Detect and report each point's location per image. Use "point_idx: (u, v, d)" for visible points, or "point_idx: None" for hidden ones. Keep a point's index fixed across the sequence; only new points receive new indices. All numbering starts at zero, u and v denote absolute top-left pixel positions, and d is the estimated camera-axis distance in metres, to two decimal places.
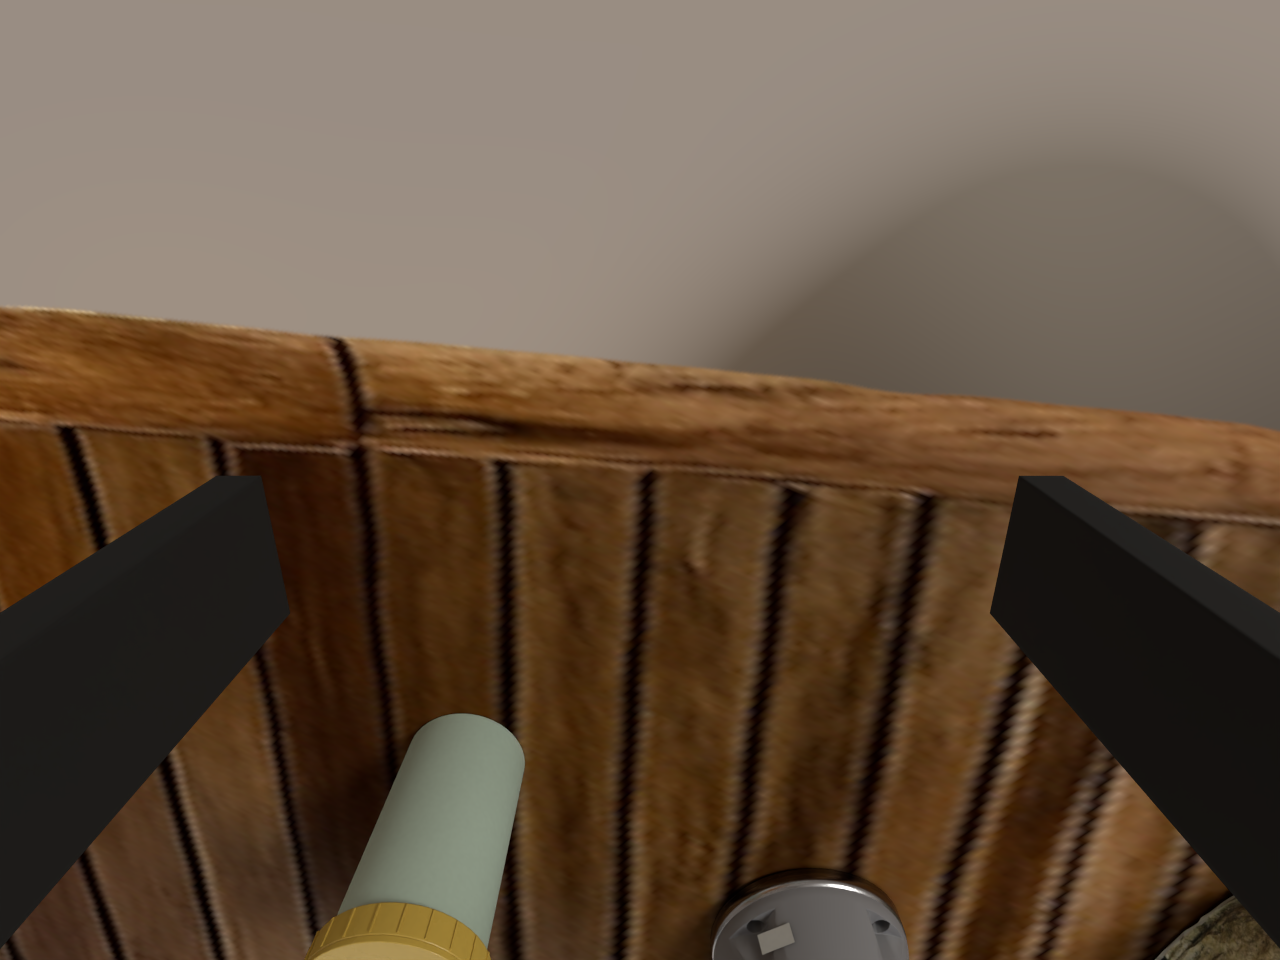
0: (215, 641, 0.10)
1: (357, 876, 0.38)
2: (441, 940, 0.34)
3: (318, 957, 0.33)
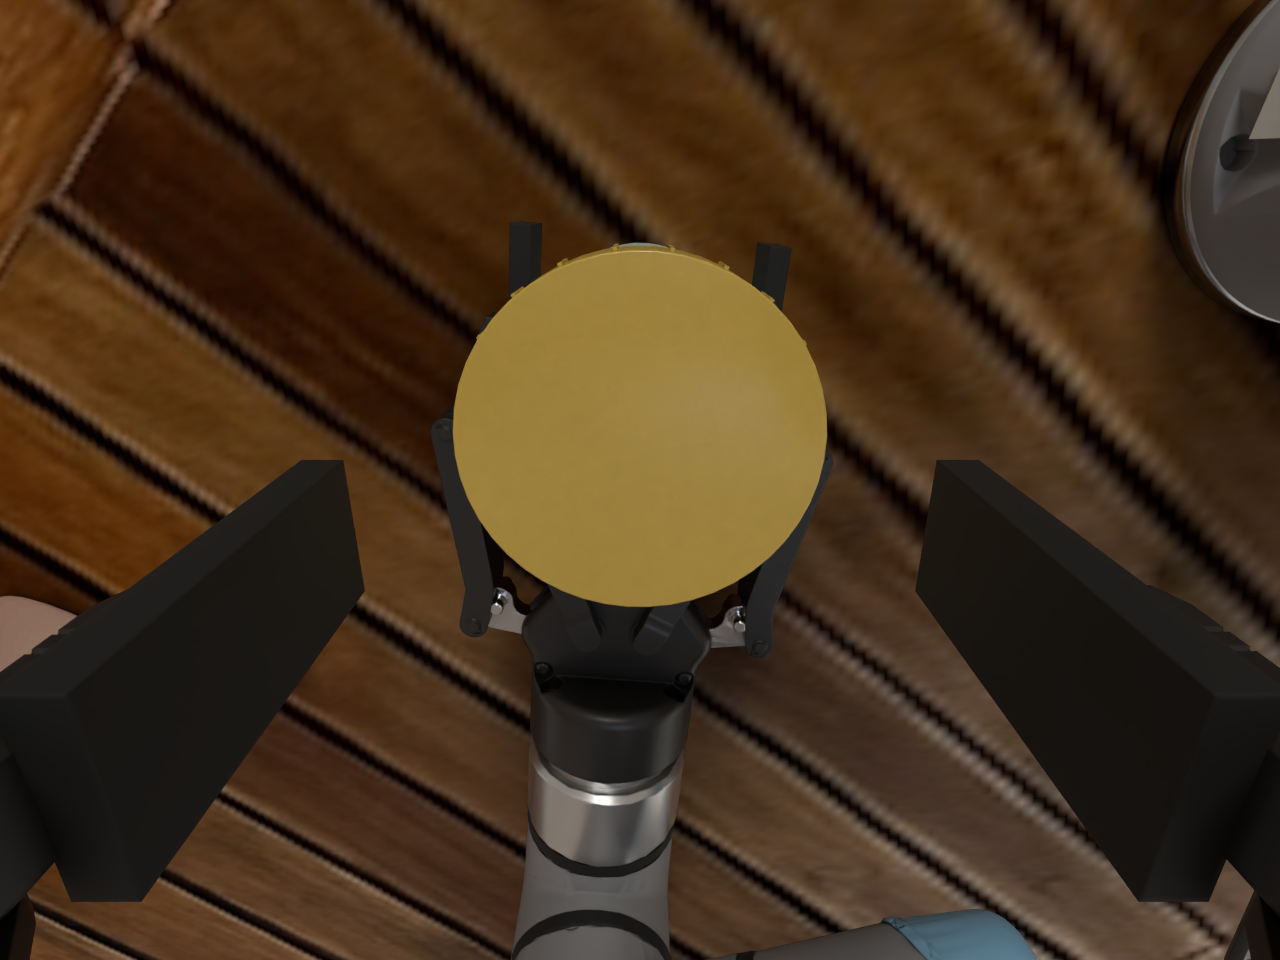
0: (310, 612, 0.11)
1: None
2: (592, 255, 0.17)
3: (455, 443, 0.17)
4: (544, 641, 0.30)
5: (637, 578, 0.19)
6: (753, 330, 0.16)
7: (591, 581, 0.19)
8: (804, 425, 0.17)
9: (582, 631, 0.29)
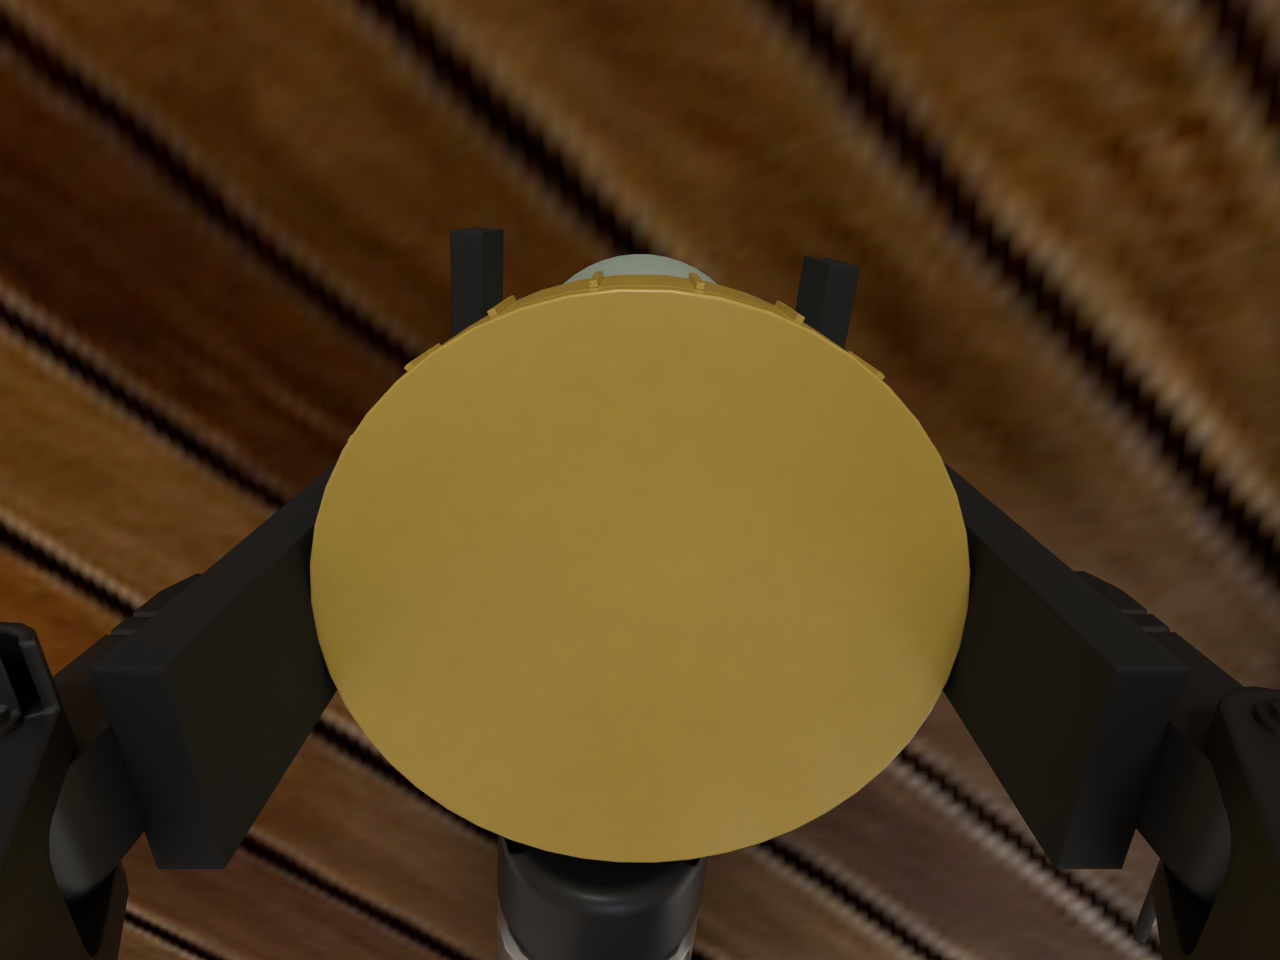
0: None
1: None
2: (552, 295, 0.09)
3: (317, 620, 0.10)
4: None
5: (635, 822, 0.11)
6: (848, 433, 0.09)
7: (559, 827, 0.11)
8: (930, 592, 0.10)
9: None
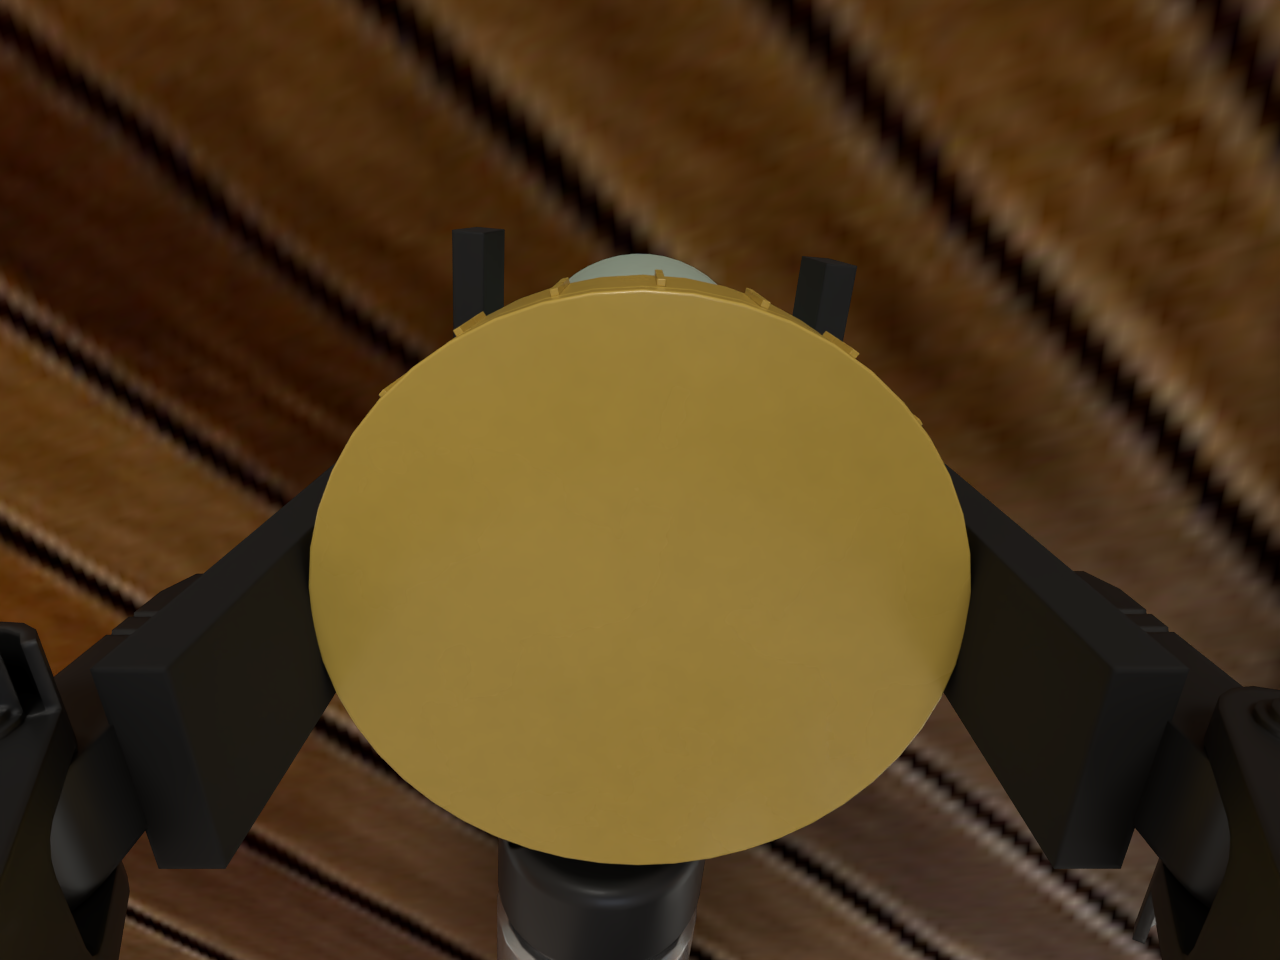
0: None
1: None
2: None
3: (547, 851, 0.12)
4: None
5: (877, 699, 0.10)
6: (489, 391, 0.09)
7: (848, 762, 0.11)
8: (703, 344, 0.08)
9: None
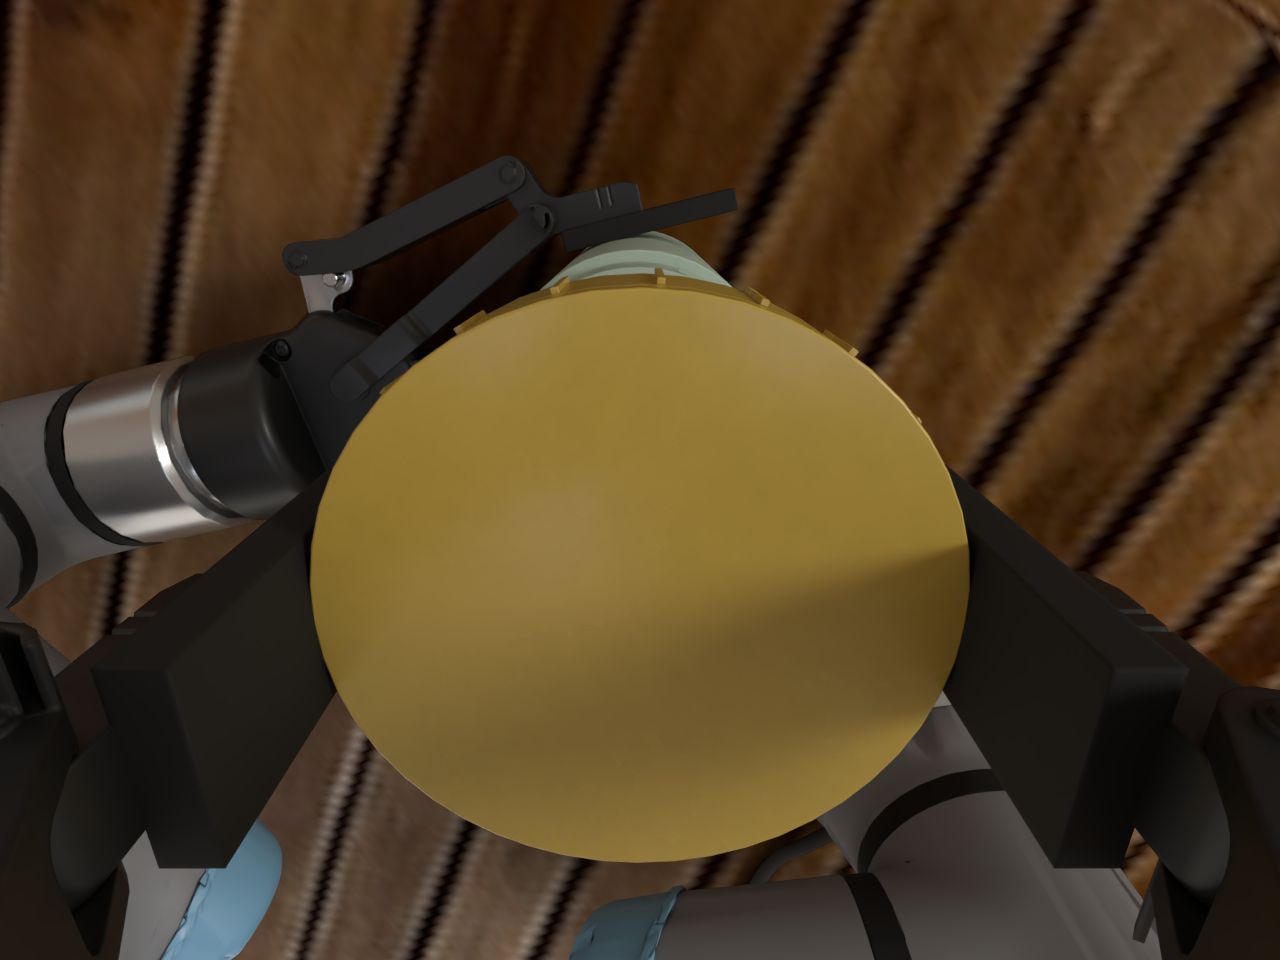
0: None
1: (580, 258, 0.22)
2: None
3: (547, 849, 0.12)
4: (316, 341, 0.27)
5: (877, 696, 0.10)
6: (489, 389, 0.09)
7: (847, 759, 0.11)
8: (703, 342, 0.09)
9: (353, 380, 0.27)
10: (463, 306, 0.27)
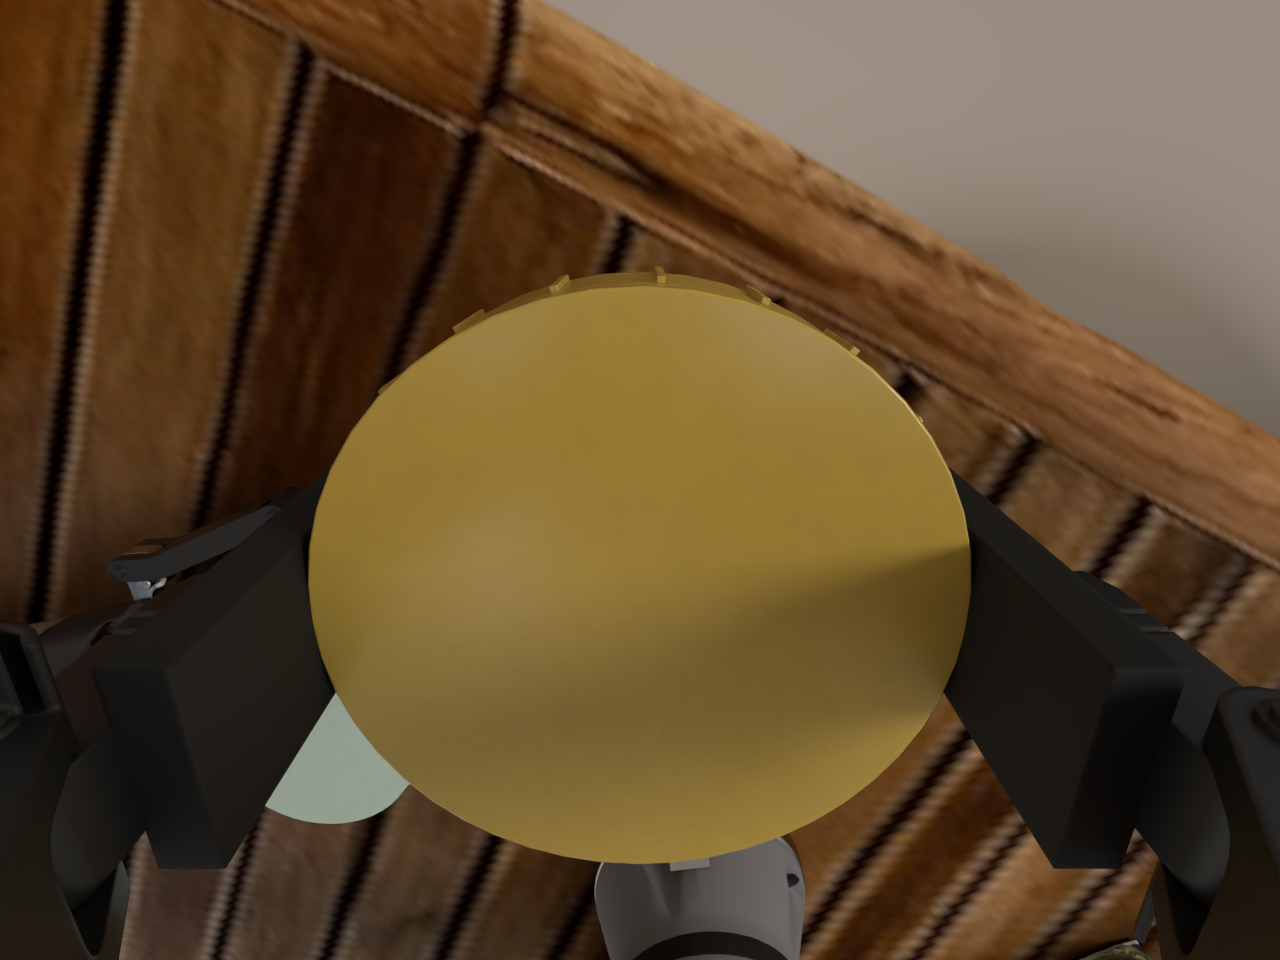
0: None
1: None
2: None
3: (547, 850, 0.12)
4: None
5: (878, 697, 0.10)
6: (488, 388, 0.09)
7: (848, 760, 0.11)
8: (703, 341, 0.08)
9: None
10: None
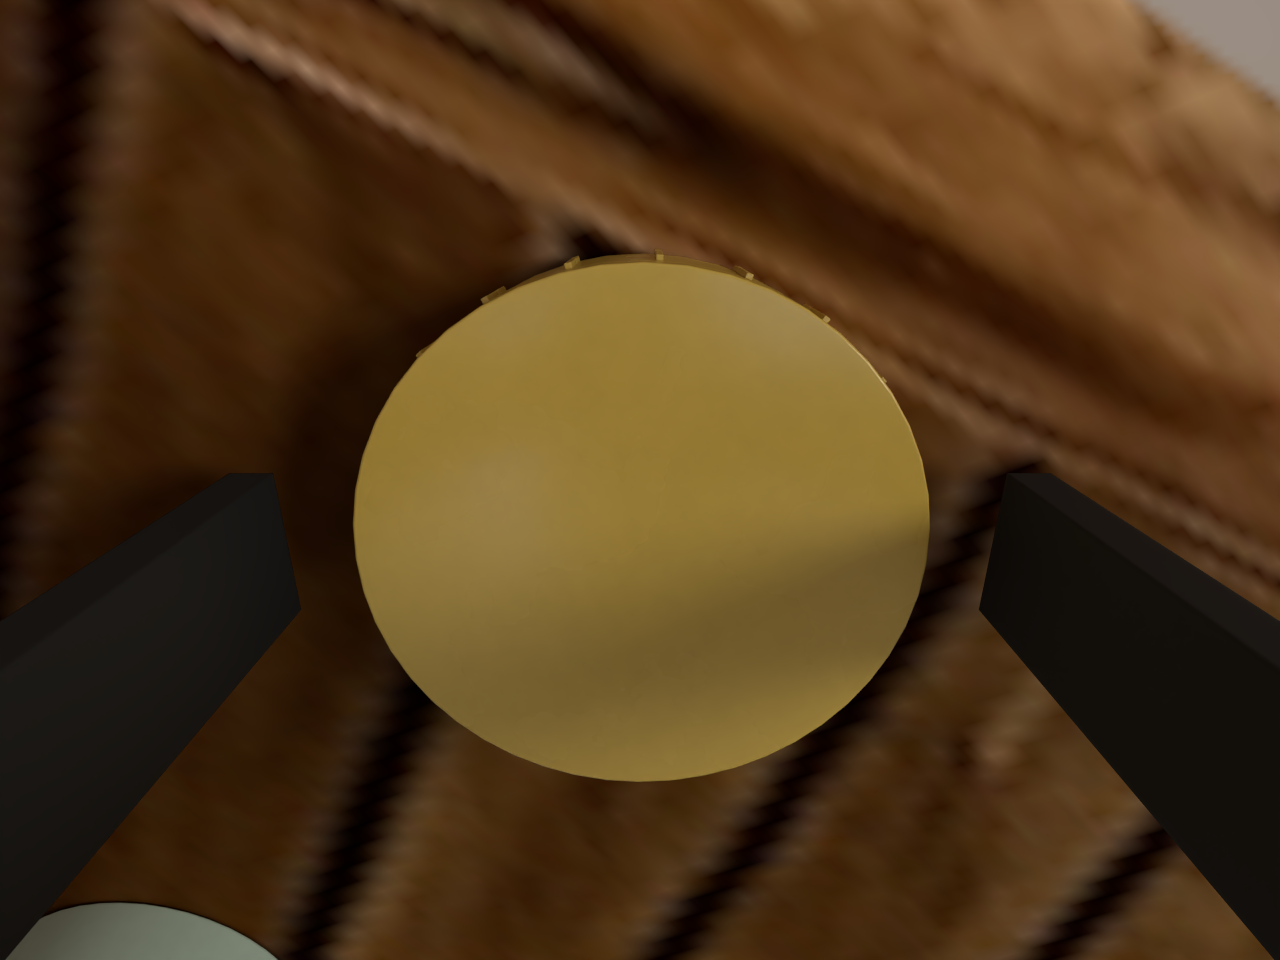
0: (229, 636, 0.11)
1: None
2: None
3: (559, 768, 0.13)
4: None
5: (850, 626, 0.12)
6: (512, 350, 0.10)
7: (825, 685, 0.12)
8: (696, 309, 0.10)
9: None
10: None
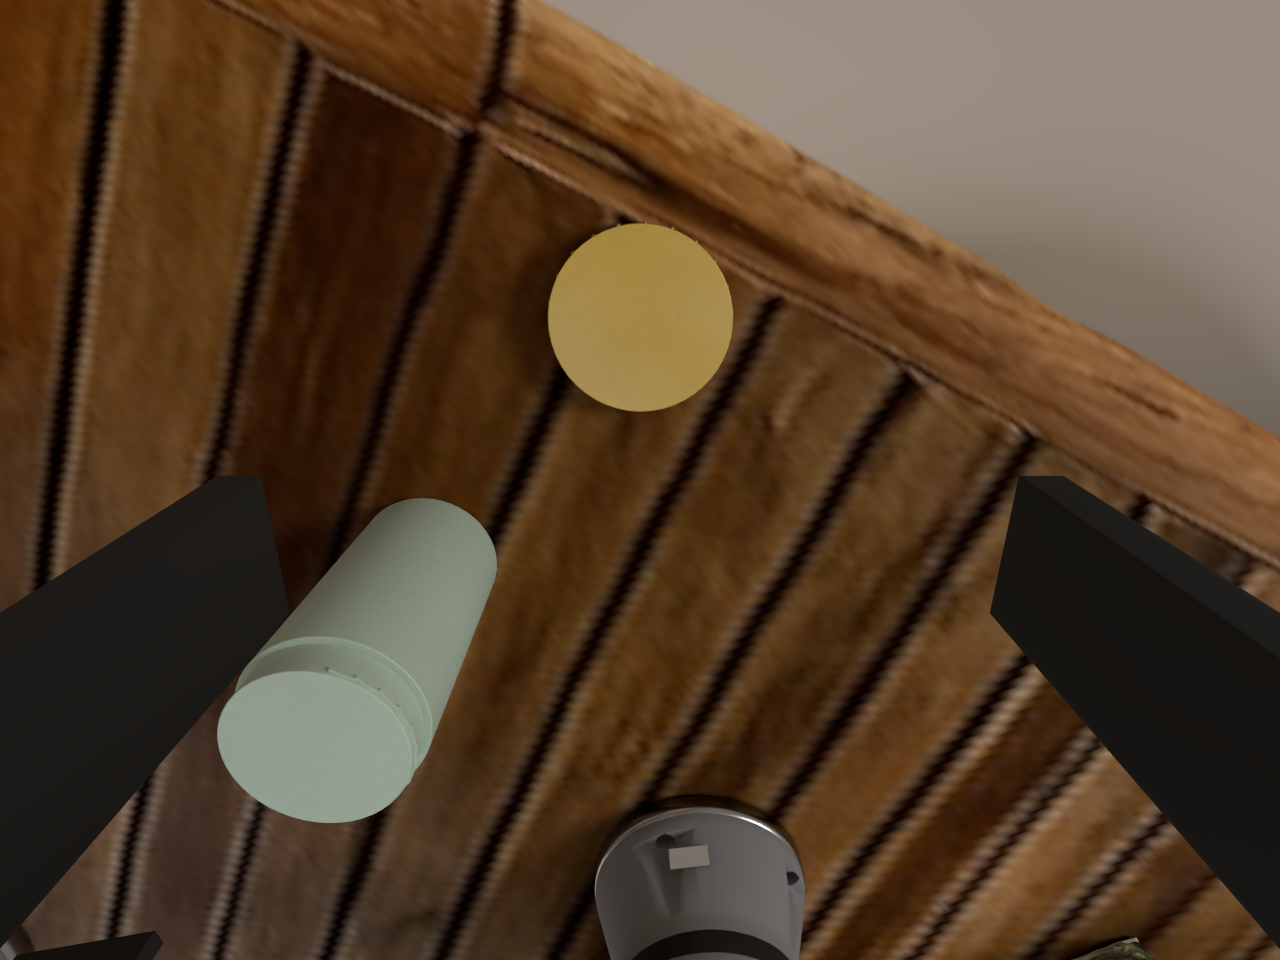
0: (215, 641, 0.10)
1: (304, 609, 0.30)
2: None
3: (611, 405, 0.37)
4: None
5: (709, 347, 0.36)
6: (601, 250, 0.34)
7: (703, 370, 0.36)
8: (656, 237, 0.34)
9: None
10: None
